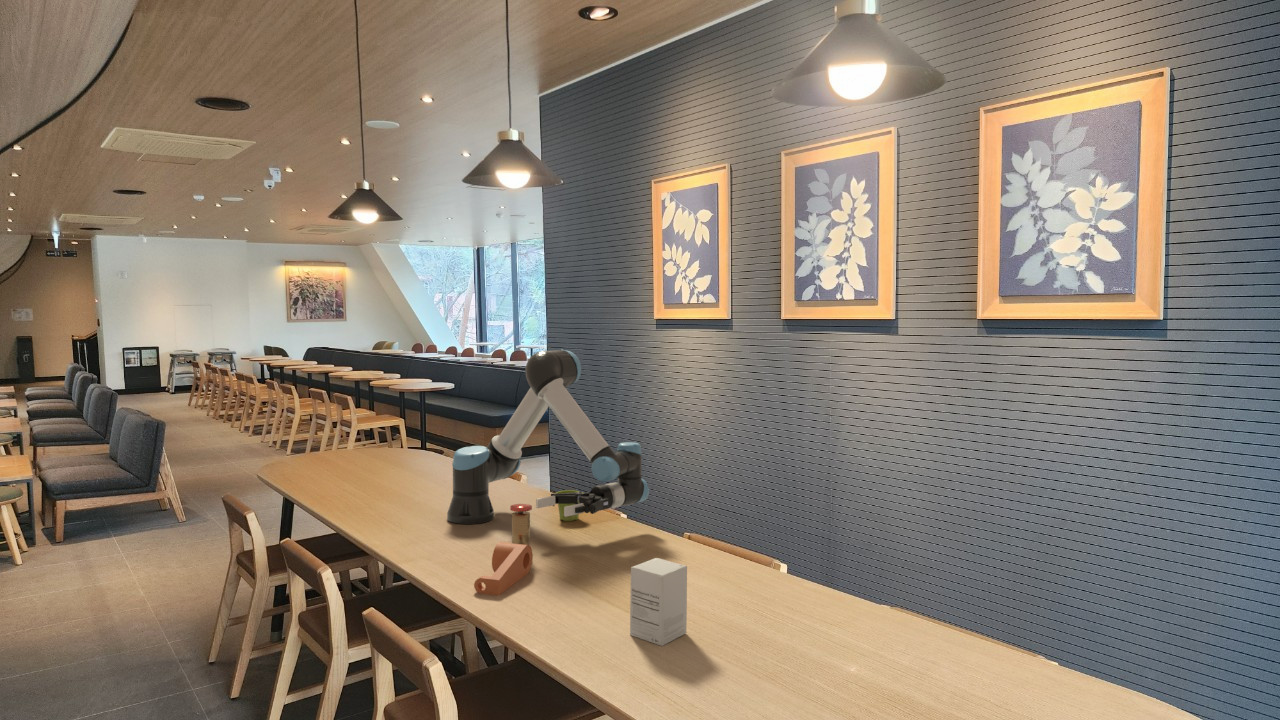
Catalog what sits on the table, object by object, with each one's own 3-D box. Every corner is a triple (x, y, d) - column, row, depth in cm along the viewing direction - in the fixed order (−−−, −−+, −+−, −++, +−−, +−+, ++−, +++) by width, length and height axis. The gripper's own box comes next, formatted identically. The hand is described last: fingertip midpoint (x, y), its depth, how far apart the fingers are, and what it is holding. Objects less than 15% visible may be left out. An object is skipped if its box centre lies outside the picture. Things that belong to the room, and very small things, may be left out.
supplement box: (654, 622, 173) (655, 556, 173) (687, 633, 168) (688, 565, 167) (628, 635, 166) (629, 566, 166) (661, 647, 161) (662, 575, 160)
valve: (504, 554, 221) (505, 505, 220) (523, 550, 225) (524, 502, 225) (517, 560, 216) (517, 510, 215) (536, 555, 221) (537, 506, 220)
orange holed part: (505, 567, 210) (505, 538, 210) (532, 570, 208) (532, 541, 208) (469, 592, 191) (469, 560, 191) (499, 596, 189) (499, 563, 188)
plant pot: (581, 523, 257) (582, 497, 256) (553, 522, 257) (553, 496, 256) (584, 515, 266) (584, 490, 265) (556, 515, 266) (557, 490, 266)
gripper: (633, 516, 232) (577, 528, 218) (581, 501, 250) (526, 512, 236) (633, 491, 232) (577, 501, 217) (581, 478, 250) (525, 488, 235)
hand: (550, 507), depth 226 cm, fingers open, 13 cm apart
